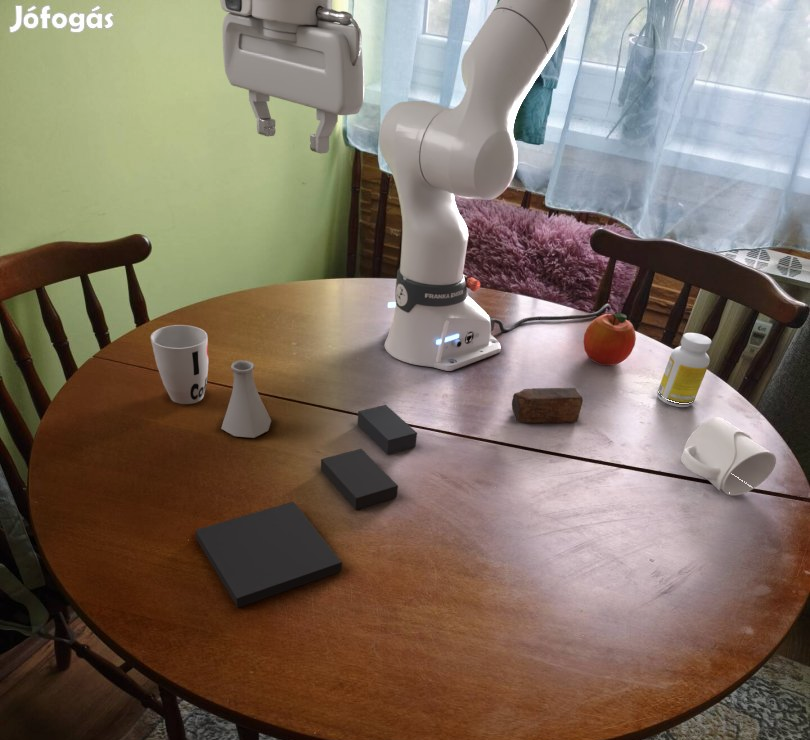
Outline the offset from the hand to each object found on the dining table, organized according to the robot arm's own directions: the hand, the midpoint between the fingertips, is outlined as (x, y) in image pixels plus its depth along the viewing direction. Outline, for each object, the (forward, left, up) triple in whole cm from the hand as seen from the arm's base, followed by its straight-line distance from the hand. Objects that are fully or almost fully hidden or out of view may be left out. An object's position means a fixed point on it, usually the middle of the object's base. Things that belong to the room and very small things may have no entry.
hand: (292, 143), depth 85 cm
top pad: (-9, +12, -37) cm, 40 cm away
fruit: (-62, +6, -38) cm, 73 cm away
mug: (-48, +43, -38) cm, 75 cm away
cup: (+14, -11, -38) cm, 41 cm away
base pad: (+18, +29, -37) cm, 51 cm away
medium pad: (+1, +21, -37) cm, 43 cm away
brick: (-36, +18, -38) cm, 55 cm away
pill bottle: (-63, +23, -38) cm, 77 cm away
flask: (+9, +1, -38) cm, 39 cm away
